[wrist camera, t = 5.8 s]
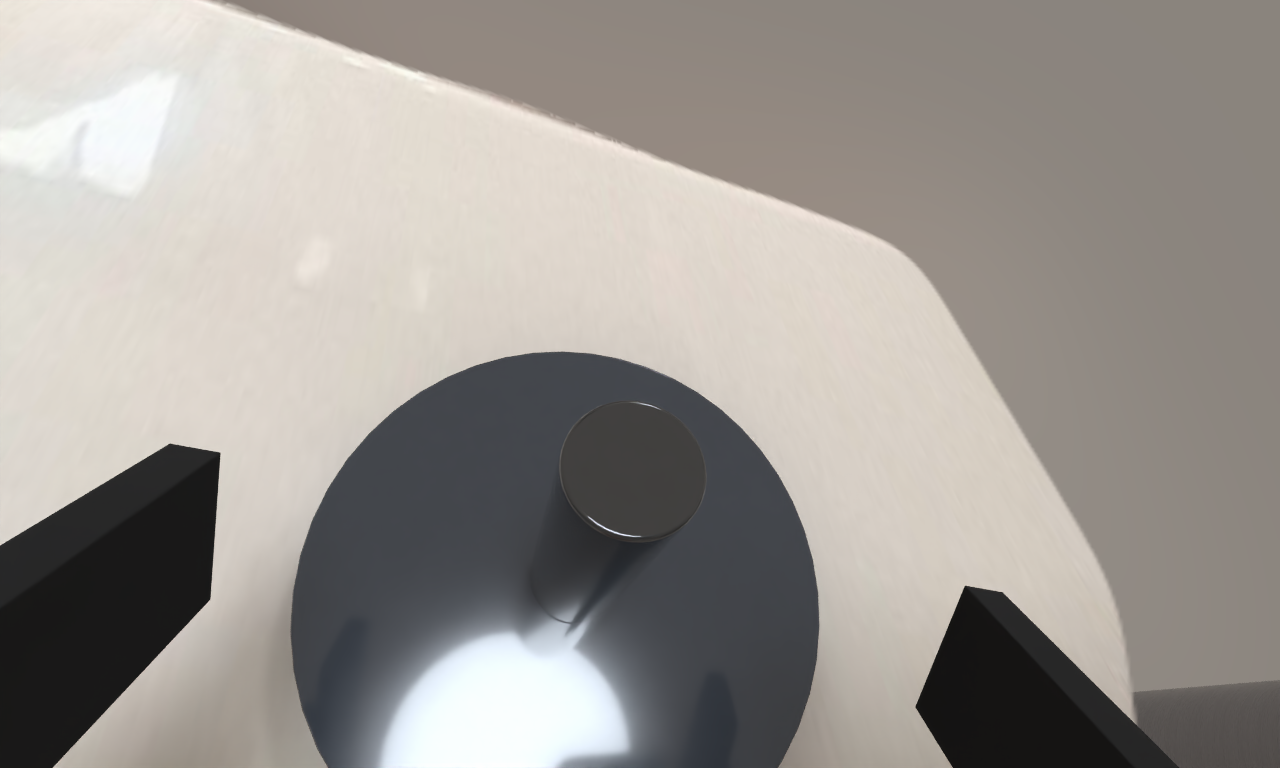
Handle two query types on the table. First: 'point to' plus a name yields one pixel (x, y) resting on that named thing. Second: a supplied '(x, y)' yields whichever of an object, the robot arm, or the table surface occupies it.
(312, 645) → the lid
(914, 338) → the table surface
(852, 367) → the table surface
